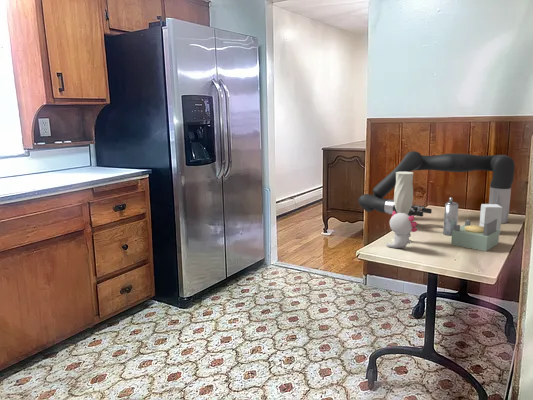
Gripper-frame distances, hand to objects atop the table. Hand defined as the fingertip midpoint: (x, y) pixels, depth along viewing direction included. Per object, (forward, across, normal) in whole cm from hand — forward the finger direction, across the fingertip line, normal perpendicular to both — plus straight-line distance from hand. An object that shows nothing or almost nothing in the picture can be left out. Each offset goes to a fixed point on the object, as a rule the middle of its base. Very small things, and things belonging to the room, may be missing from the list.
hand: (427, 212), depth 208 cm
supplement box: (+23, +15, +8) cm, 29 cm away
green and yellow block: (+25, -8, +8) cm, 28 cm away
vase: (0, -24, +8) cm, 25 cm away
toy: (+5, -34, +8) cm, 35 cm away
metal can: (+11, 0, +8) cm, 14 cm away
